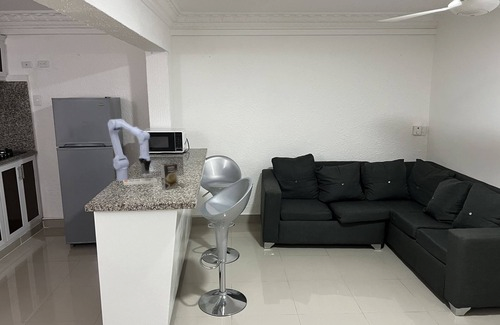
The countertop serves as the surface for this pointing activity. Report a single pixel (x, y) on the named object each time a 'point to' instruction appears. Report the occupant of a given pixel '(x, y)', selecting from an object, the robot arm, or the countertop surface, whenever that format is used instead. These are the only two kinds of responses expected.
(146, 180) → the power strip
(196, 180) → the countertop surface
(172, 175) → the coffee box
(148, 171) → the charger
